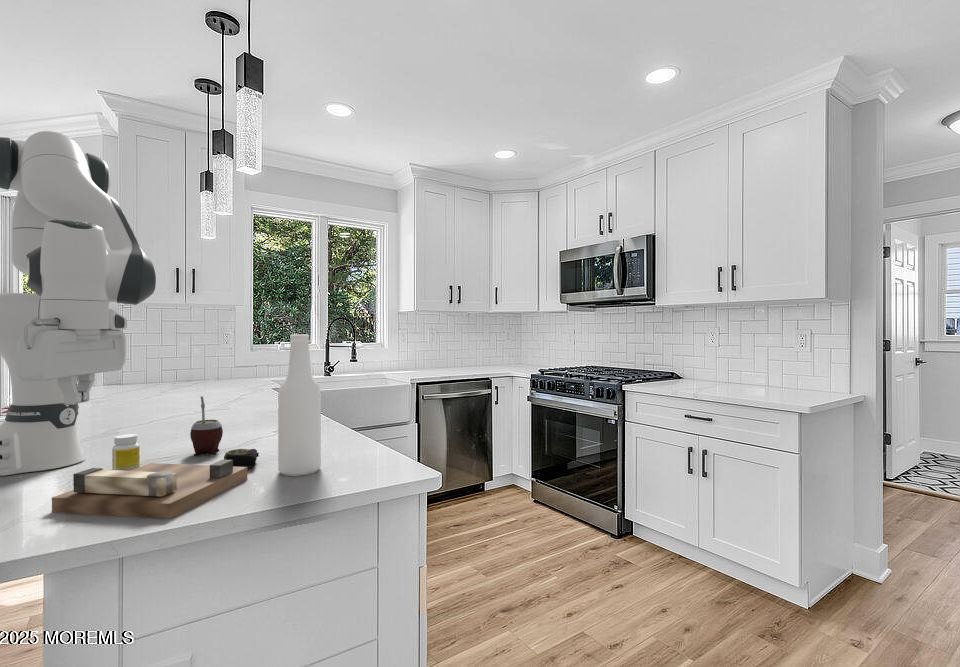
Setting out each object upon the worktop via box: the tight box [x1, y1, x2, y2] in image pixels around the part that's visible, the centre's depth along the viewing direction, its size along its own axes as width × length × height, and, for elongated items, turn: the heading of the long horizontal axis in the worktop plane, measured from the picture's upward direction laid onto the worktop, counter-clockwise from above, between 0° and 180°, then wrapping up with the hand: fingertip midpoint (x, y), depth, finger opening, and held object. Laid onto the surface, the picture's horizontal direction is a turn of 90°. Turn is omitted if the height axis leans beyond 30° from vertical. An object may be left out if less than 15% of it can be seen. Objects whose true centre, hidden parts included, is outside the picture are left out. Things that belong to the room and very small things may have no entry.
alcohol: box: [277, 333, 322, 477], centre depth 111 cm, size 9×9×30 cm
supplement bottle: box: [111, 433, 141, 471], centre depth 108 cm, size 5×5×8 cm
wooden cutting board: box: [51, 459, 248, 520], centre depth 96 cm, size 22×22×5 cm
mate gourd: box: [189, 396, 224, 457], centre depth 126 cm, size 8×8×15 cm
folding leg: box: [72, 467, 177, 496], centre depth 89 cm, size 17×4×3 cm, turn 83°
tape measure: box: [223, 448, 260, 469], centre depth 114 cm, size 7×7×4 cm
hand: (76, 403), depth 83 cm, fingers closed
